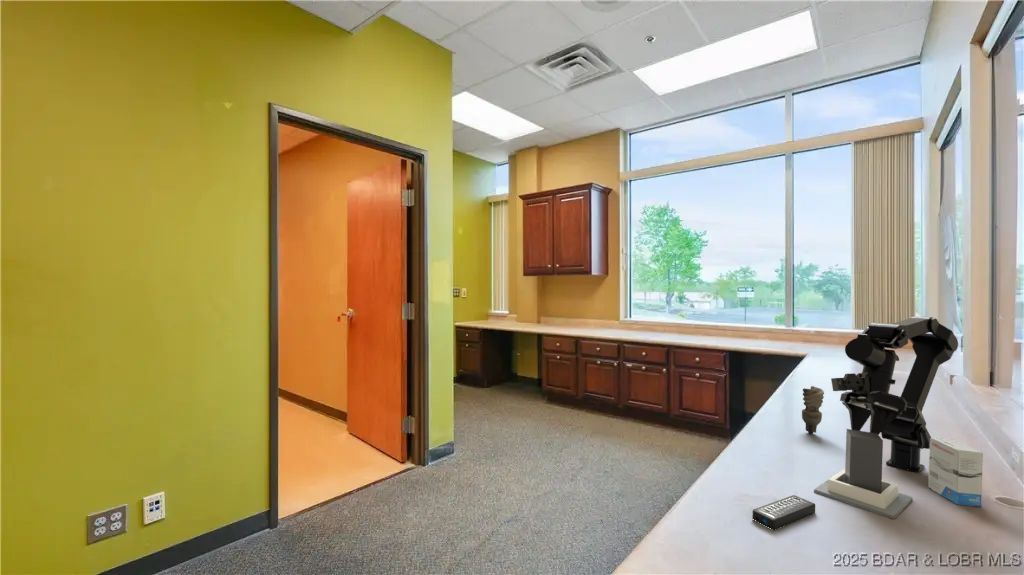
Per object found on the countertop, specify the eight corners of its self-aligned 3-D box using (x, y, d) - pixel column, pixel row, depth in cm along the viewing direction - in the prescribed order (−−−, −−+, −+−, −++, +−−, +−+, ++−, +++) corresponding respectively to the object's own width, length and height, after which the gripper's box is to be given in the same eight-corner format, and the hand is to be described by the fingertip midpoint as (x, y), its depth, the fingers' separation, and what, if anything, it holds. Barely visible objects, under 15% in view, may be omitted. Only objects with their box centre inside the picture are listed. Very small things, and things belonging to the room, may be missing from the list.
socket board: (836, 476, 108) (836, 463, 108) (912, 499, 97) (912, 485, 97) (813, 491, 100) (814, 478, 100) (894, 519, 89) (894, 503, 89)
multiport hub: (816, 515, 90) (816, 503, 90) (773, 532, 84) (773, 520, 84) (793, 505, 94) (794, 494, 94) (751, 521, 87) (751, 509, 87)
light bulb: (819, 432, 141) (820, 385, 141) (825, 438, 136) (826, 389, 136) (799, 430, 143) (800, 383, 143) (804, 435, 138) (805, 387, 138)
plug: (844, 485, 102) (846, 428, 102) (875, 491, 100) (877, 433, 99) (848, 494, 97) (850, 435, 97) (881, 501, 95) (882, 440, 95)
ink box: (982, 507, 94) (984, 452, 94) (955, 504, 95) (957, 450, 95) (951, 489, 103) (953, 438, 103) (927, 486, 104) (928, 436, 104)
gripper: (824, 364, 120) (811, 420, 118) (857, 359, 103) (841, 424, 101) (872, 378, 117) (859, 436, 115) (914, 375, 99) (900, 443, 97)
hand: (863, 434), depth 107 cm, fingers open, 9 cm apart
